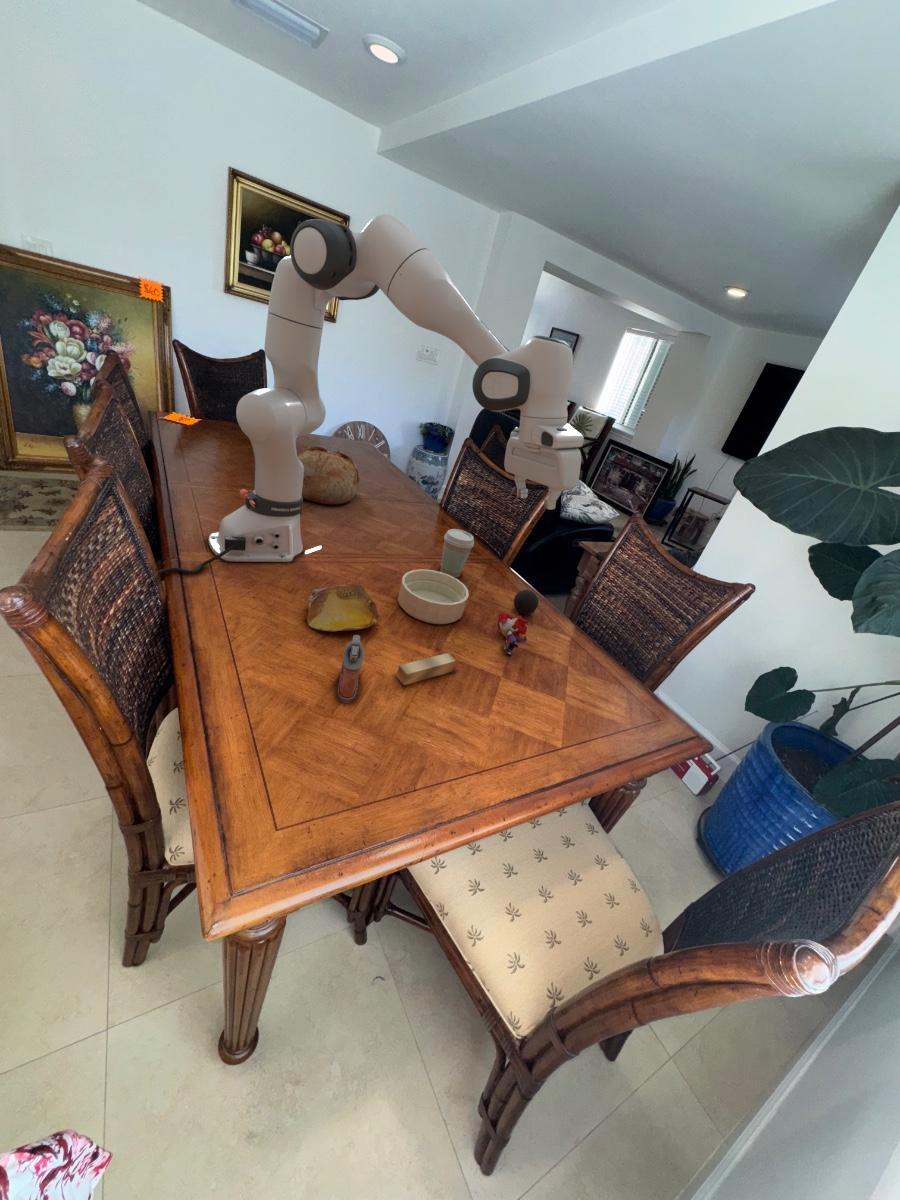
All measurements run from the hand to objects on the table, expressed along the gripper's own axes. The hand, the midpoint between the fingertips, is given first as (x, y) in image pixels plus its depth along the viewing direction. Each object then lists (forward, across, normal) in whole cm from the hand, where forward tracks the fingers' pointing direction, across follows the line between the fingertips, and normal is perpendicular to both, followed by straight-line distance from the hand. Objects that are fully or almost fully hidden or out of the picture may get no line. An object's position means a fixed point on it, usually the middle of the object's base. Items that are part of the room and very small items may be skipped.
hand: (535, 502), depth 99 cm
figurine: (+34, 0, -3) cm, 34 cm away
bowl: (+29, -17, -16) cm, 37 cm away
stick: (+30, +7, -28) cm, 41 cm away
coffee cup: (+29, -34, -2) cm, 44 cm away
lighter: (+28, +8, -44) cm, 52 cm away
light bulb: (+34, -14, +10) cm, 38 cm away
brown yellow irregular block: (+25, -14, -38) cm, 48 cm away
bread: (+16, -90, -24) cm, 94 cm away
